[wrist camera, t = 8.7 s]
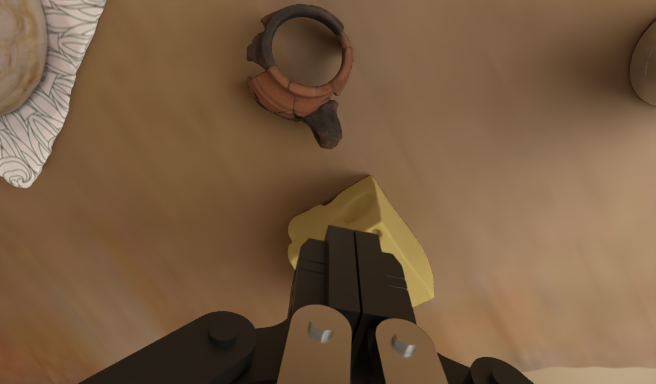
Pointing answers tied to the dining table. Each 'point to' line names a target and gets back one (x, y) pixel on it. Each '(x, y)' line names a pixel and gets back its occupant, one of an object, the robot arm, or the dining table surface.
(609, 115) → the dining table surface
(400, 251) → the cheese
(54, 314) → the dining table surface
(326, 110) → the pottery mug
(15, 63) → the cookie jar
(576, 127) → the dining table surface
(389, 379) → the robot arm
